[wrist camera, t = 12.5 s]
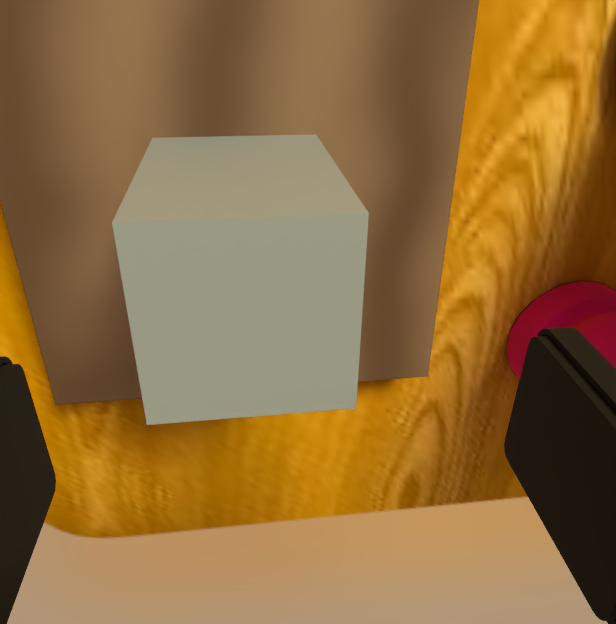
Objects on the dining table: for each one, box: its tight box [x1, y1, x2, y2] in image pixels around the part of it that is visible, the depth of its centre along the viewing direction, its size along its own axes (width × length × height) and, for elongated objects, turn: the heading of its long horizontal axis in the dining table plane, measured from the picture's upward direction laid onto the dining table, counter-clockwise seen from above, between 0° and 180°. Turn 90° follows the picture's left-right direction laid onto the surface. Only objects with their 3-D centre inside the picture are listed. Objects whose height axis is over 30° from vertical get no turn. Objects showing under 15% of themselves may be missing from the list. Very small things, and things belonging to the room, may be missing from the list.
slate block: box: [112, 134, 369, 425], centre depth 17 cm, size 6×6×8 cm
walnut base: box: [0, 0, 479, 405], centre depth 21 cm, size 16×16×2 cm
